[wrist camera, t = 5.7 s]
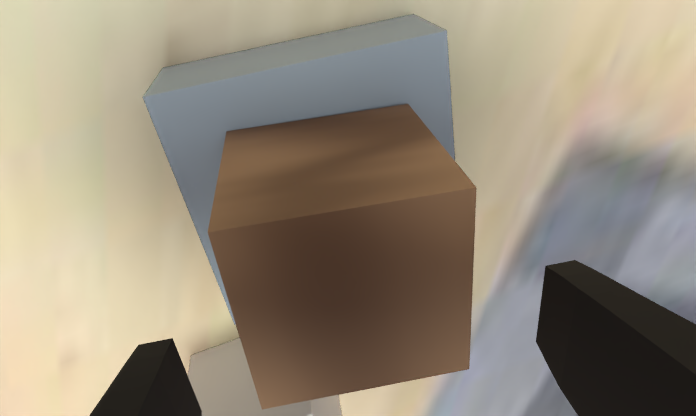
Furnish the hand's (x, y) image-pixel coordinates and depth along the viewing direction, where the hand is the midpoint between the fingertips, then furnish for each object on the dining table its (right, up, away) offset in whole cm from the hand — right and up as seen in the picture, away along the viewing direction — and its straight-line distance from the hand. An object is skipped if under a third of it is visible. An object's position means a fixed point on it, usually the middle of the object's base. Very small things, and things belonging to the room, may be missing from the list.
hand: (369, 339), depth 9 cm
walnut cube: (-1, +3, +5) cm, 6 cm away
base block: (-2, +5, +8) cm, 9 cm away
